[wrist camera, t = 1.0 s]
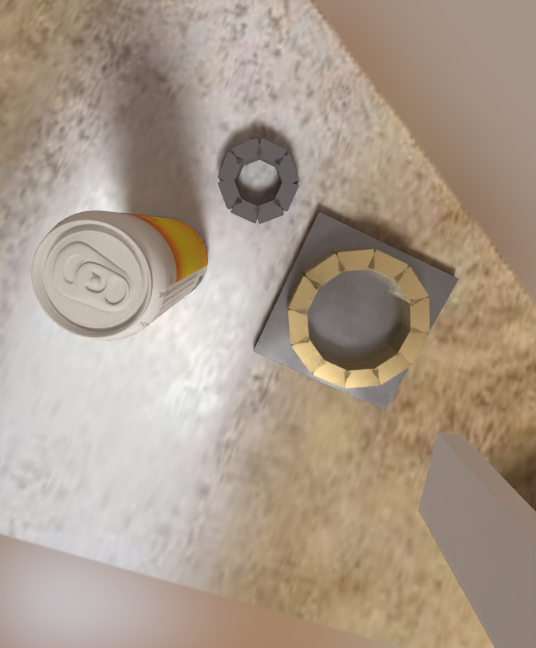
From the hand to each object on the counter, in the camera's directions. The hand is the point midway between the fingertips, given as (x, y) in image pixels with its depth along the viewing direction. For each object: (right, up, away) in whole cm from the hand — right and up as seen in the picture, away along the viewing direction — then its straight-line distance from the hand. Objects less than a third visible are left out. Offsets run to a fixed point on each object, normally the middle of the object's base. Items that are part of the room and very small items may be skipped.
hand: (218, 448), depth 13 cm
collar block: (+8, +5, +21) cm, 23 cm away
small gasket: (+1, +14, +19) cm, 24 cm away
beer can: (-6, +9, +21) cm, 23 cm away
